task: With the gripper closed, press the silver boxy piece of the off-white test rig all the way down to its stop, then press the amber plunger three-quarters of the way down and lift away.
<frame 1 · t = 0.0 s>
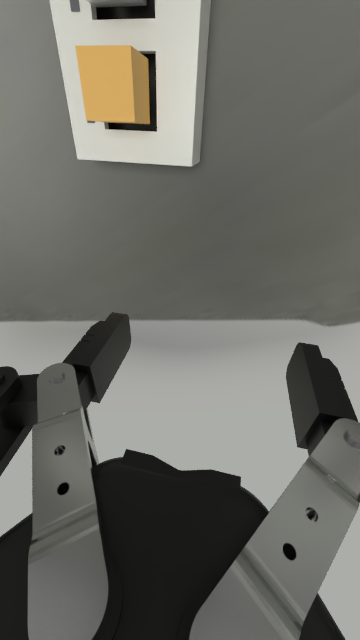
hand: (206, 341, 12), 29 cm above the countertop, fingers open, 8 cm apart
amber plunger: (117, 89, 23), point 9 cm above the countertop, slide at 0.0 cm
test rig: (144, 52, 28), on the countertop
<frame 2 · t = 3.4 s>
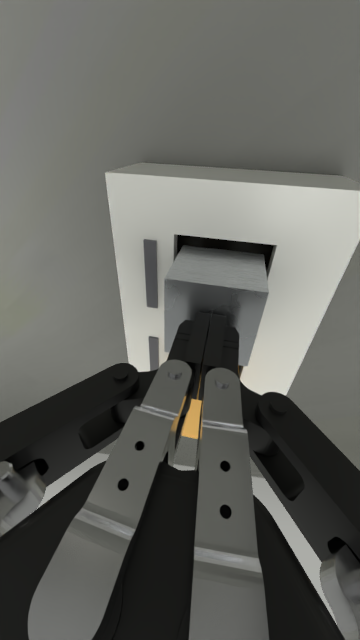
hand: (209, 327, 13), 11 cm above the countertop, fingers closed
silver boxy piece: (213, 303, 15), point 8 cm above the countertop, slide at 0.5 cm, touching gripper
amber plunger: (200, 394, 19), point 9 cm above the countertop, slide at 0.0 cm
test rig: (218, 292, 24), on the countertop
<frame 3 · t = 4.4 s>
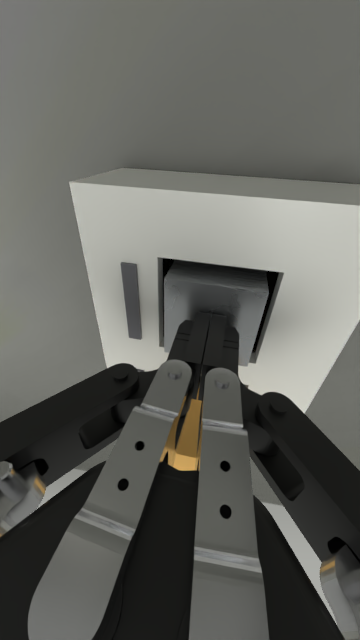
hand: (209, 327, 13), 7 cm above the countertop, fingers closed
silver boxy piece: (213, 303, 15), point 5 cm above the countertop, slide at 4.0 cm, touching gripper
amber plunger: (192, 438, 16), point 9 cm above the countertop, slide at 0.0 cm
test rig: (214, 313, 21), on the countertop
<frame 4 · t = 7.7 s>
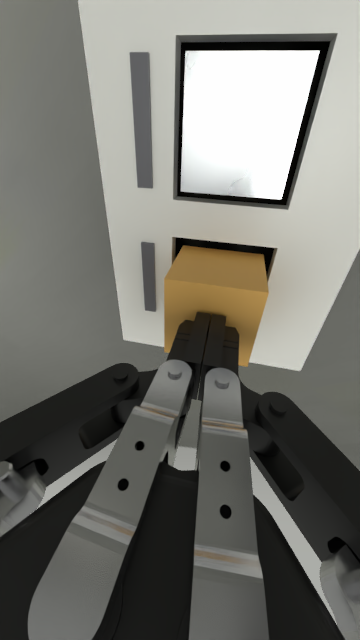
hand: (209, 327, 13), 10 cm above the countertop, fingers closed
silver boxy piece: (239, 133, 12), point 5 cm above the countertop, slide at 4.1 cm
amber plunger: (213, 303, 15), point 8 cm above the countertop, slide at 0.9 cm, touching gripper
test rig: (231, 201, 18), on the countertop
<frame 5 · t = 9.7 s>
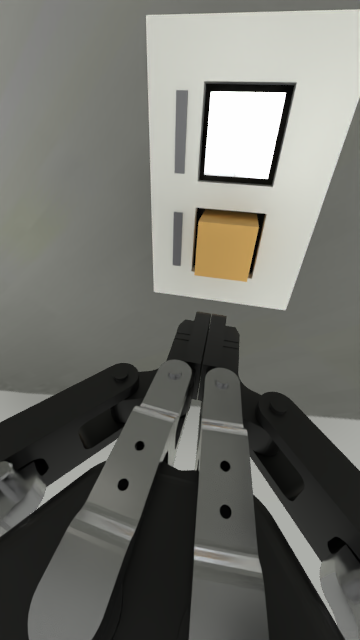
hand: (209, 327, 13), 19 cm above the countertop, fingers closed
silver boxy piece: (241, 137, 19), point 5 cm above the countertop, slide at 4.1 cm
amber plunger: (225, 244, 23), point 6 cm above the countertop, slide at 3.0 cm
test rig: (234, 186, 25), on the countertop
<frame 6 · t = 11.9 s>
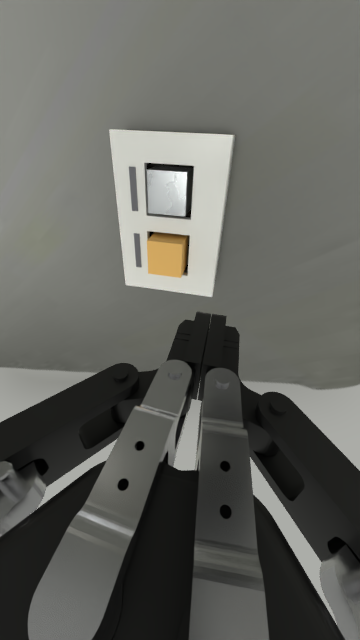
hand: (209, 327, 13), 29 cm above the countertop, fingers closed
silver boxy piece: (171, 190, 32), point 5 cm above the countertop, slide at 4.1 cm
amber plunger: (168, 253, 36), point 6 cm above the countertop, slide at 3.0 cm
test rig: (177, 214, 38), on the countertop
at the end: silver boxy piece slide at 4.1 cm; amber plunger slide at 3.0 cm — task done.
